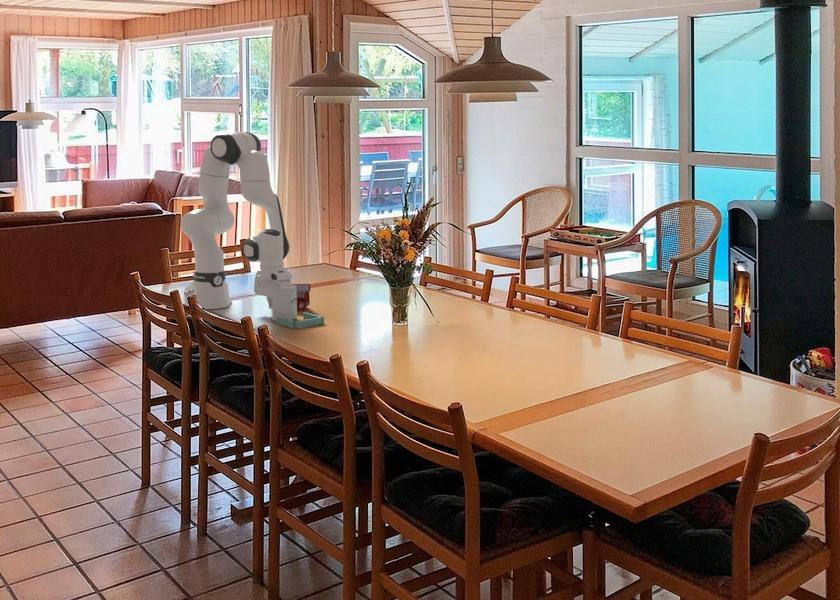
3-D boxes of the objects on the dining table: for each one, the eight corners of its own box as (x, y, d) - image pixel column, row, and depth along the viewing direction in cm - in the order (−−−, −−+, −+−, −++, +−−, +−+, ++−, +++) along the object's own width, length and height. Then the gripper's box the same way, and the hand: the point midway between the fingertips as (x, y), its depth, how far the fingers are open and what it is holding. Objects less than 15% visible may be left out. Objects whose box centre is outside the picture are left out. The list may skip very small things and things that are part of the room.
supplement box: (291, 322, 346) (290, 288, 344) (272, 321, 348) (271, 287, 345) (297, 318, 353) (297, 285, 351) (278, 317, 355) (278, 284, 352)
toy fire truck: (280, 307, 373) (279, 281, 371) (311, 307, 373) (311, 281, 371) (278, 311, 366) (277, 284, 364) (309, 311, 366) (309, 284, 364)
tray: (276, 323, 343) (276, 317, 343) (305, 318, 352) (305, 312, 352) (295, 329, 335) (294, 322, 335) (324, 323, 344) (324, 317, 343)
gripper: (249, 270, 358) (250, 305, 361) (280, 277, 344) (281, 314, 347) (263, 268, 363) (264, 303, 365) (294, 275, 348) (295, 311, 351)
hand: (273, 308), depth 356 cm, fingers closed
